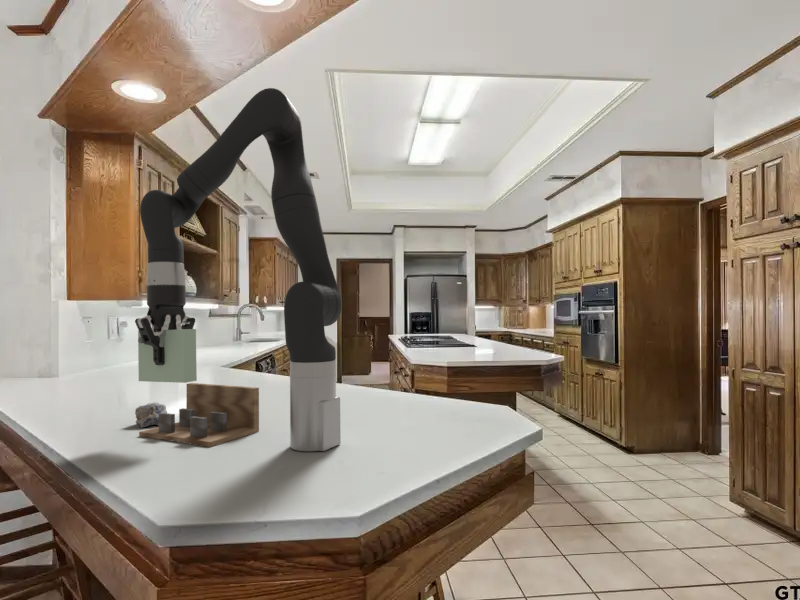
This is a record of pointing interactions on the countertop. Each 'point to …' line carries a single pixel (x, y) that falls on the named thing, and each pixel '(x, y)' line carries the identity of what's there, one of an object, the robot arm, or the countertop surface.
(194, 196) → the robot arm
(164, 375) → the cabinet door
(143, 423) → the mineral specimen
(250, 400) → the hinge base
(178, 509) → the countertop surface
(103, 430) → the countertop surface
